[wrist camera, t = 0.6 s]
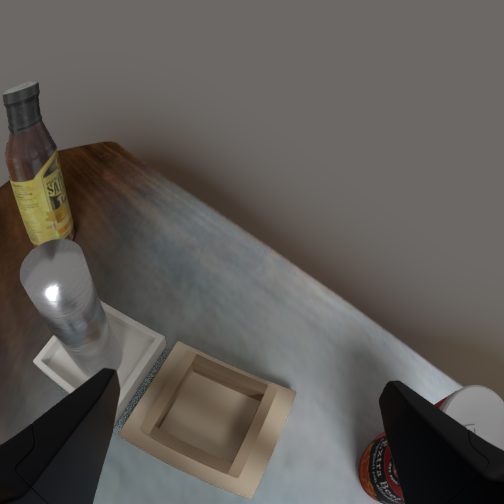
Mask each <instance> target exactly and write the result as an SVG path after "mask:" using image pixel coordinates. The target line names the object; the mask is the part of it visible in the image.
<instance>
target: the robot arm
mask: <svg viewBox="0 0 504 504" xmlns="http://www.w3.org/2000/svg"><path fill="white" fill-rule="evenodd" d="M119 396H120V384H119V379H118V374H117V371H116V370H115V369H111V368H102V369H101V370H100V371H99V372H97V373H96V374H95V375H93V376H92V377H91V378H90V379H88V380H87V381H86V382H84V383H83V384H82V385H81V386H79V387H78V388H77V389H75V390H74V391H73V392H71V393H70V394H69V395H68V396H66V397H65V398H64V399H62V400H61V401H60V402H59V403H57V404H56V405H55V406H53V407H52V408H51V409H50V410H48V411H47V412H46V413H44V414H43V415H42V416H41V417H39V418H38V419H37V420H35V421H34V422H33V423H32V424H30V425H29V426H28V427H26V428H25V429H24V430H22V431H21V432H20V433H18V434H17V435H15V436H14V437H13V438H11V439H9V440H8V441H6V442H5V443H3V444H2V445H0V504H93V501H94V497H95V493H96V489H97V485H98V482H99V478H100V474H101V471H102V467H103V464H104V460H105V457H106V453H107V450H108V447H109V443H110V440H111V437H112V433H113V428H114V423H115V417H116V412H117V407H118V401H119ZM379 405H380V410H381V415H382V420H383V425H384V430H385V435H386V439H387V442H388V446H389V449H390V452H391V456H392V459H393V463H394V466H395V469H396V473H397V477H398V480H399V484H400V487H401V491H402V495H403V499H404V503H405V504H504V450H502V449H500V448H498V447H496V446H494V445H493V444H491V443H489V442H487V441H486V440H484V439H482V438H481V437H479V436H478V435H476V434H475V433H473V432H472V431H471V430H469V429H468V430H467V428H466V427H465V426H463V425H462V424H460V423H459V422H457V421H456V420H455V419H453V418H452V417H450V416H449V415H447V414H446V413H444V412H443V411H442V410H440V409H439V408H437V407H436V406H434V405H433V404H432V403H430V402H429V401H427V400H426V399H425V398H423V397H422V396H420V395H419V394H417V393H416V392H415V391H413V390H412V389H410V388H409V387H408V386H406V385H405V384H403V383H402V382H401V381H389V382H388V383H387V384H386V386H385V388H384V390H383V392H382V394H381V396H380V398H379Z"/></svg>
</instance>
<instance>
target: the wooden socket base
mask: <svg viewBox="0 0 504 504" xmlns="http://www.w3.org/2000/svg"><path fill="white" fill-rule="evenodd" d="M295 395H296V391H293V390H290V389H288V388H285V387H282V386H280V385H277V384H275V383H272V382H270V381H267V380H265V379H262V378H260V377H257V376H255V375H252V374H250V373H248V372H245V371H243V370H240V369H238V368H236V367H234V366H231V365H229V364H227V363H224V362H222V361H220V360H218V359H216V358H213V357H211V356H209V355H207V354H205V353H203V352H201V351H198V350H196V349H194V348H192V347H190V346H188V345H186V344H184V343H182V342H180V341H178V342H177V343H176V345H175V346H174V348H173V349H172V351H171V352H170V354H169V356H168V357H167V359H166V360H165V362H164V363H163V365H162V366H161V368H160V370H159V371H158V373H157V374H156V376H155V377H154V379H153V380H152V382H151V384H150V385H149V387H148V388H147V390H146V391H145V393H144V395H143V396H142V398H141V399H140V401H139V402H138V404H137V406H136V407H135V409H134V410H133V412H132V413H131V415H130V417H129V418H128V420H127V421H126V423H125V425H124V426H123V428H122V429H121V431H120V432H119V434H118V435H119V436H121V437H122V438H124V439H125V440H127V441H129V442H130V443H132V444H133V445H135V446H137V447H139V448H140V449H142V450H144V451H145V452H147V453H149V454H151V455H152V456H154V457H156V458H158V459H160V460H162V461H164V462H165V463H167V464H169V465H171V466H173V467H175V468H177V469H179V470H181V471H183V472H185V473H187V474H190V475H192V476H194V477H196V478H198V479H201V480H203V481H205V482H207V483H210V484H212V485H214V486H217V487H219V488H222V489H224V490H227V491H229V492H232V493H235V494H237V495H240V496H243V497H246V498H248V499H252V498H253V495H254V493H255V491H256V489H257V487H258V485H259V483H260V480H261V478H262V476H263V474H264V471H265V469H266V467H267V465H268V462H269V460H270V458H271V455H272V453H273V451H274V448H275V446H276V443H277V441H278V439H279V436H280V434H281V431H282V429H283V426H284V424H285V421H286V418H287V416H288V413H289V411H290V408H291V405H292V403H293V400H294V397H295Z"/></svg>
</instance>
